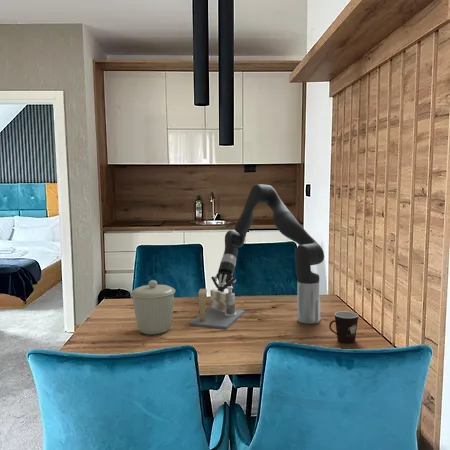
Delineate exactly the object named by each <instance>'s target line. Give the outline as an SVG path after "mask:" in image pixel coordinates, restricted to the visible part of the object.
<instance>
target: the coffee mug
mask: <svg viewBox="0 0 450 450" xmlns="http://www.w3.org/2000/svg"><path fill="white" fill-rule="evenodd" d="M358 321H359V313H356V312H353V311H349V310H348V311H345V310H343V311H341V310H340V311H337V312H334V320H331V321H330V322H329V324H328V327H329V330H330V331H331V332H332V333H333V334H335V335H336V339H337V342H338V343H341V344H346V345H347V344H349V345H351V344H353V343H355V342H356V339H357V338H356V337H357V328H358ZM333 323H335V330H336V331H335V330H334V329H332V324H333Z"/></svg>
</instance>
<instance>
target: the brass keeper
mask: <svg viewBox="0 0 450 450" xmlns="http://www.w3.org/2000/svg"><path fill="white" fill-rule="evenodd" d="M207 291H208V290H207V288H199V291H198V306H199V307H198V309H199V315H200V321H205V320H206V310H207V309H206V296H207Z"/></svg>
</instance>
